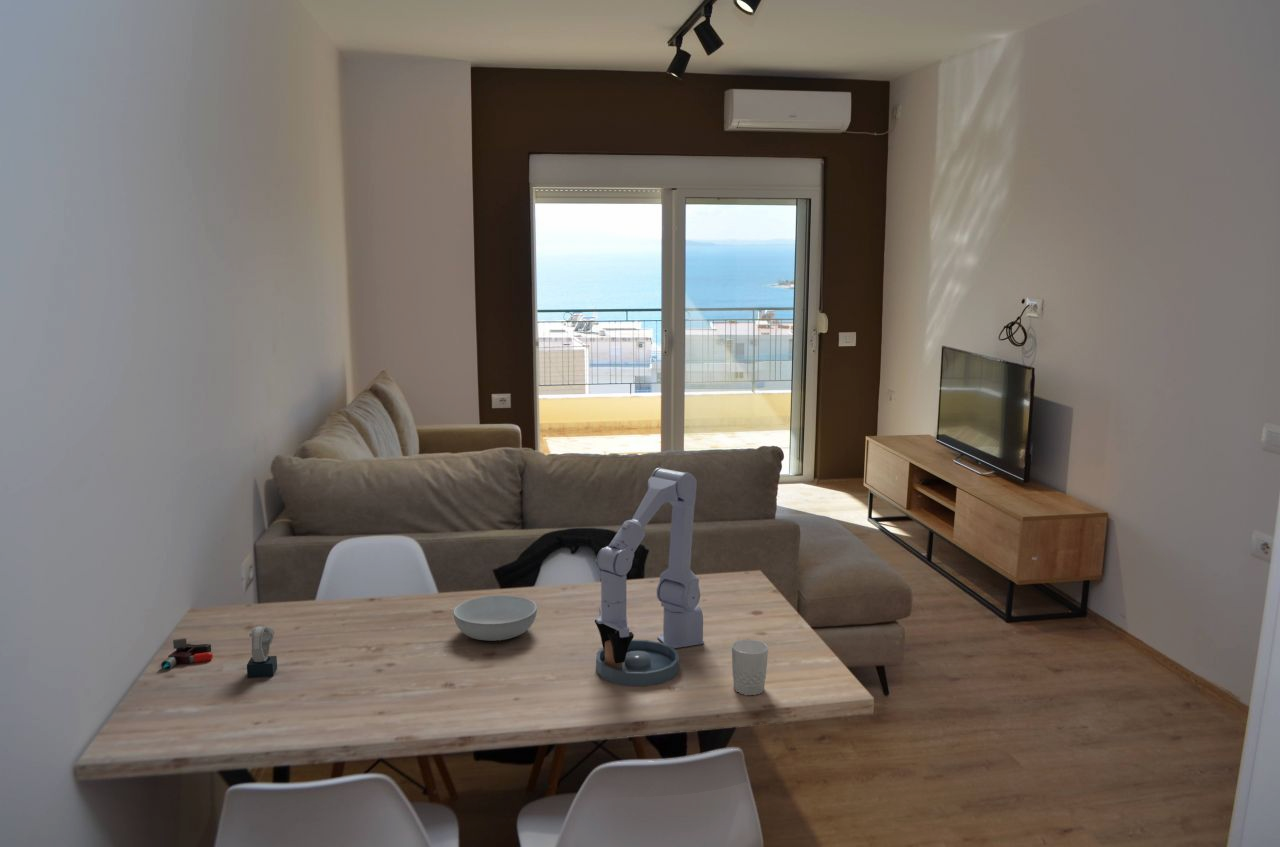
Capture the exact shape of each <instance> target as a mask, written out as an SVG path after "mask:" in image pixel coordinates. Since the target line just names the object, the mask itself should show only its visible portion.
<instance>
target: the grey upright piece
mask: <svg viewBox="0 0 1280 847" xmlns="http://www.w3.org/2000/svg"><path fill="white" fill-rule="evenodd" d="M248 636H249V637H250V638H251V657H250V659H249V661H247V664H246V673H247V676H246V677H247V678H248V679H252V678H253V679H254V678H267V677H268V678H271V677H274V675H275V674H276V672H277V670H278V659H277V658H278V656H277V655H270V651H271V650H270V649H271V648H270V647H271V645H272V642H273V639H274V636H275V629H273V628H272V627H271V626H268V625H264V624H263V625H262V624H261V625H256V626H254V627H253V628H252V629H251V633H249V635H248Z"/></svg>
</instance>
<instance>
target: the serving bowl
mask: <svg viewBox="0 0 1280 847" xmlns="http://www.w3.org/2000/svg"><path fill="white" fill-rule="evenodd" d="M537 612H538V605H537V604H536V602H534V601H533V600H531V599H529V598H526V597H524V596H518V595H511V594H508V595H507V594H496V595H484V596H479V597H476V598H470V599H468V600H465V601H463V602H461V603H459V604H458V605H456V606H455V608H454V609H453V614H452V615H453V619H454V622H455V624H456V625H455V626H456V627H457V628H458V629H459V631H460V632H461V633H463V634H464V635H466V636H467V637H470V638H471V639H474V640H479V641H489V642H492V641H496V642H497V640H498V641H504V640H509V639H512V638H515V637H518V636H520V635H523V634H524V633H525V632H527V631H528V630H530V628H531V627H532V625H533V624H534V622H535V620H536V618H537Z"/></svg>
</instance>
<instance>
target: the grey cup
mask: <svg viewBox="0 0 1280 847" xmlns="http://www.w3.org/2000/svg"><path fill="white" fill-rule="evenodd" d="M768 652H769V646H768V645H767V644H766V643H765V642H763V641H761V640H756V639H741V640H740V639H739V640H737V641H734V642H733V643H732V644H731V654H732V656H731V660H732V661H731V662H732V663H731V664H732V678H733V690H734V691H735V690H736V691H735V692H736V693H737V692H739V693H738V694H740V693H741V694H740V695H742V694H746V695H745V696H747V695H754V696H757V695H756V694H759V695H761V694H762V693H764V692H765V683H766V678H767V667H768V654H769V653H768ZM760 693H761V694H760Z"/></svg>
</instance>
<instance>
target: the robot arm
mask: <svg viewBox="0 0 1280 847" xmlns="http://www.w3.org/2000/svg"><path fill="white" fill-rule="evenodd" d="M650 475H651V476H650V477H649V478H648V480H647V491H646V493H645V495H644V497H643V498H642V500H641V501H640V504H639V506H638V508H637V509H636V511H635V513H634V514H633V516H632V519H628V520H624V522H623V523H622V524H621V526H620V528H619V529H618V531H617V532H616V534H615V535H614V537H613V538H612V540H611V541H610V543H609V544H608V545H606V546H605V547H602V548H600V550H599V551H598V553H597V556H596V559H595V561H594V564H595V567H596V569H597V570H598V577H599V578H600V580H601V581H600V582H601V583H600V589H601V590H600V595H601V596H600V599H601V600H600V602H601V603H600V604H601V606H600V607H598V608H599V612H598V613H599V617H597V618H596V619H595V620H594V623H595V625H596V626H597V629H598V632H599V636H600V640H601V645H602V648H603V649H604V650H605V642H606V641H608V640H610V641H611V644H612V649H613V656H614V661H615V663H623V662H624V661H625V658H626V653H627V650H628V647H629V644H630V642H631V641H632V640H634V633H633V632H632V631H630V627H629V626H628V616H627V574H628V573H629V571H630V570H631V569H632V566H633V560H634V557H635V552H636V550H637V549H638V547H639V546H640V544H641V542H642V541H643V539H644V538H645V537H646V529H645V527H646V526H647V525H648V523H650V521H651V520H652V518H653V517H654V516H655V515H656V513H657V512H658V511H659V509H660V508H661V506H662V505H664V504H668V503H669V504H670V505H671V506H672V507H671V511H672V512H671V523H670V524H671V525H670V539H669V554H668V567H667V569H666V570H664V571H663V572H662V573H660V575H659V582H658V584H657V587H656V597H657V599H658V601H659V602H660V603H661V604H660V606H661V607H663V619H662V620H663V627H662V628H663V629H662V630H663V632H662V634H659V635H657V637H656V638H657V639H658V640H659V642H661V643H663V644H666V645H668V646H671V647H673V648H674V649H678V648H679V649H680V648H685V647H692V646H693V647H694V646H698V645H704V644H705V641H704V615H703V611H702V609H701V607H700V605H699V603H700V600H701V590H700V586H699V584H700V580H699V577H697V575H696V574H695V573H694V572H693V571H692V570H691V560H692V546H693V533H694V531H693V530H694V517H695V516H694V515H695V504H696V497H697V484H698V483H697V482H698V480H697V479H696V477H695V476H694V475H693V474H692V473H690V472H684V471H678V470H673V469H668V468H665V467H657V468H655V469H654V470H653V472H652V473H651V474H650ZM616 630H617V631H616Z"/></svg>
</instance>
